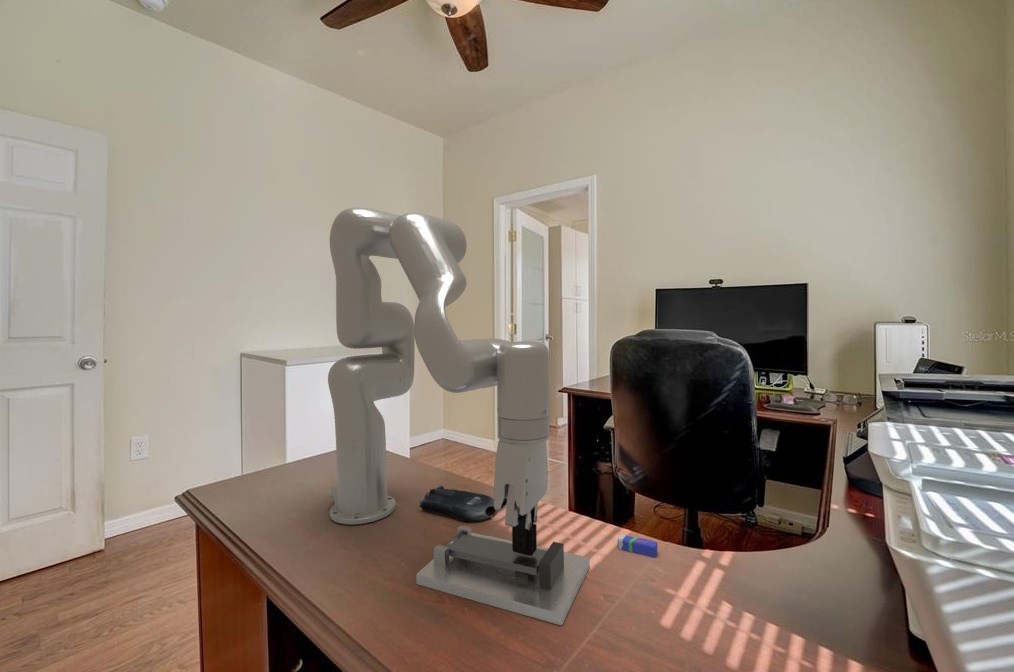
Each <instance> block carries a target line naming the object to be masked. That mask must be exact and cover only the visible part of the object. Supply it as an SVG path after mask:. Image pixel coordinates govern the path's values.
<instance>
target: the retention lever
mask: <svg viewBox="0 0 1014 672" xmlns="http://www.w3.org/2000/svg"><path fill="white" fill-rule="evenodd" d="M443 546H445V547H449V556H452V557H457V558H461V559H465V560H470V561H474V562H479V563H483V564H488V565H492V566H496V567H501V568H505V569H510V570H514V571H519V572H523V573H527V574H532V575H536V576H537V574H538V573H539V562H540V560H541V559H542V557H543V556H544V554H545V553H546V552H547V550H542V549H536V551H535V552H534V554H533V555H532V556H529V555H525V554H520V553H516V552H514V551H513V550H512V543H506V542H501V541H496V540H491V539H486V538H481V537H476V536H471V535H466V534H463V533H458V534H457V533H456V535H455V536H454V537H452V538H451V539H450V540H449V541H448V542H447V543H446V544H445V545H443Z"/></svg>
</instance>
